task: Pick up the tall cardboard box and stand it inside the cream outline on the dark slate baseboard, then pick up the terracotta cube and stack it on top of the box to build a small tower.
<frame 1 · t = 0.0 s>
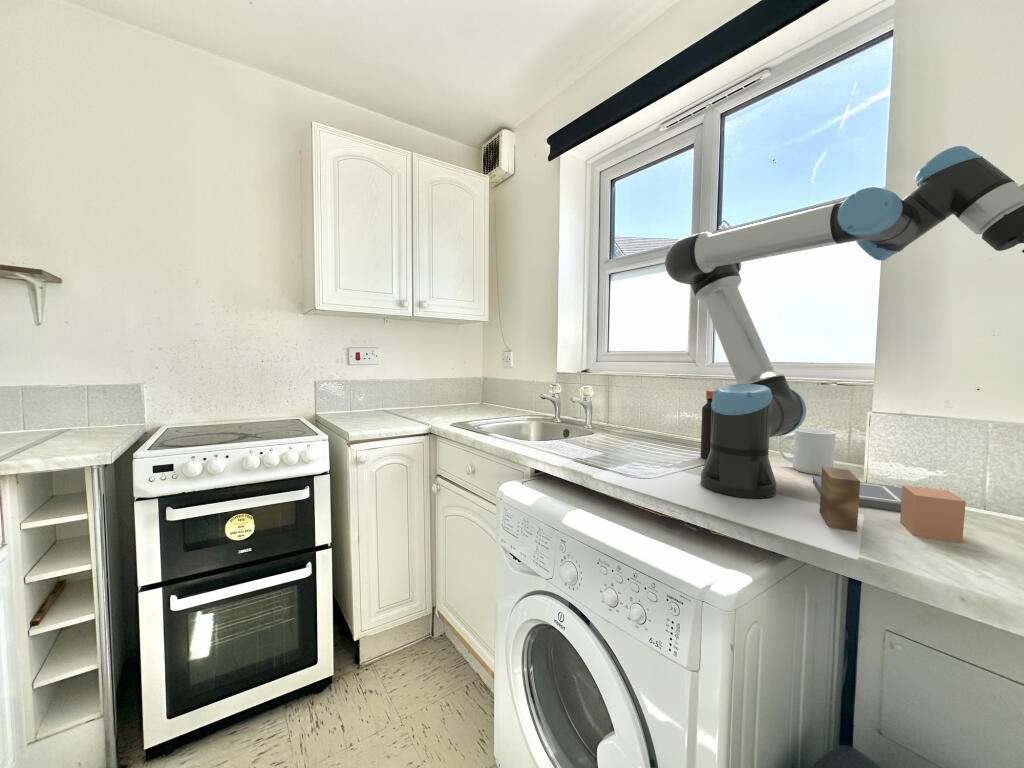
tall cardboard box: (837, 521, 75), on the worktop
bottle: (712, 458, 120), on the worktop
baseboard: (870, 497, 87), on the worktop
mug: (804, 470, 109), on the worktop
cap cube: (929, 532, 70), on the worktop
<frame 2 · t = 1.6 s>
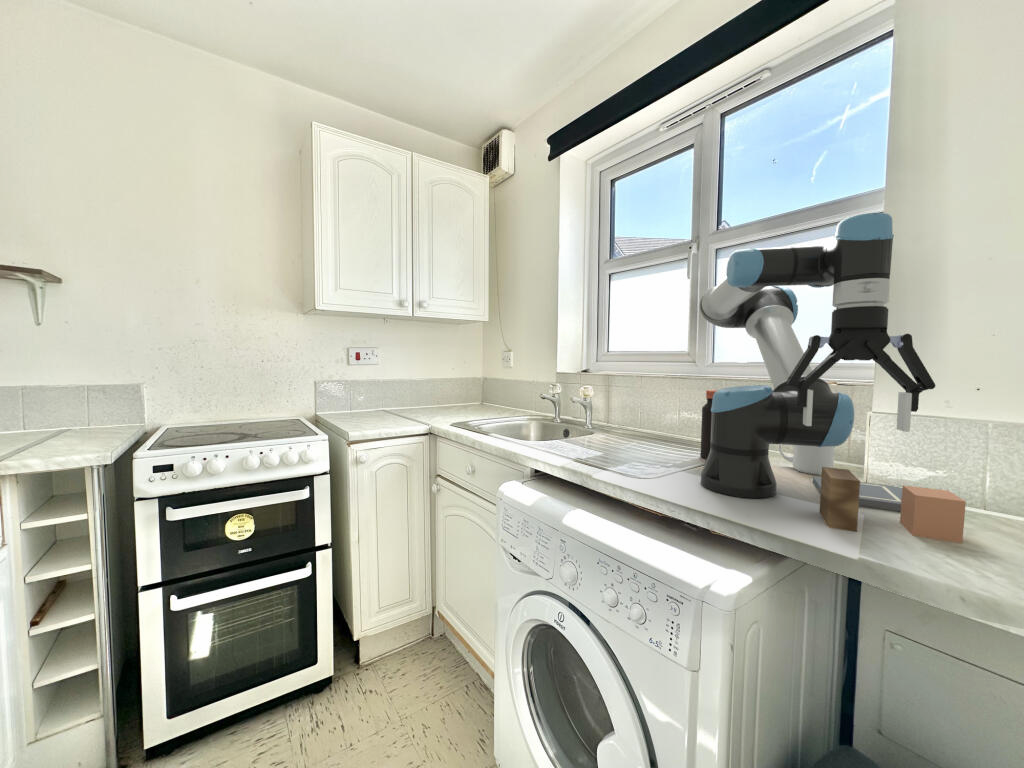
hand: (853, 427, 72), 17 cm above the worktop, tool pointing down, fingers open, 13 cm apart
nothing on the worktop moved.
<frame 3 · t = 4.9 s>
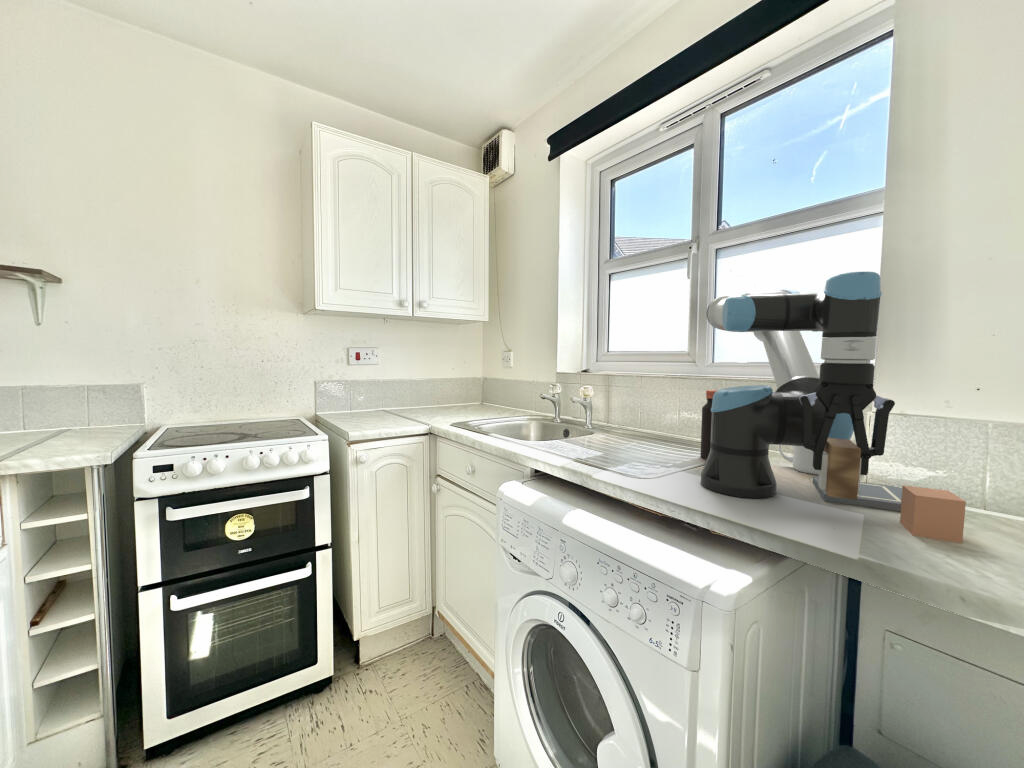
hand: (837, 489, 75), 6 cm above the worktop, tool pointing down, fingers closed on tall cardboard box, 4 cm apart
tall cardboard box: (837, 490, 75), point 5 cm above the worktop, touching gripper
everything else where it was.
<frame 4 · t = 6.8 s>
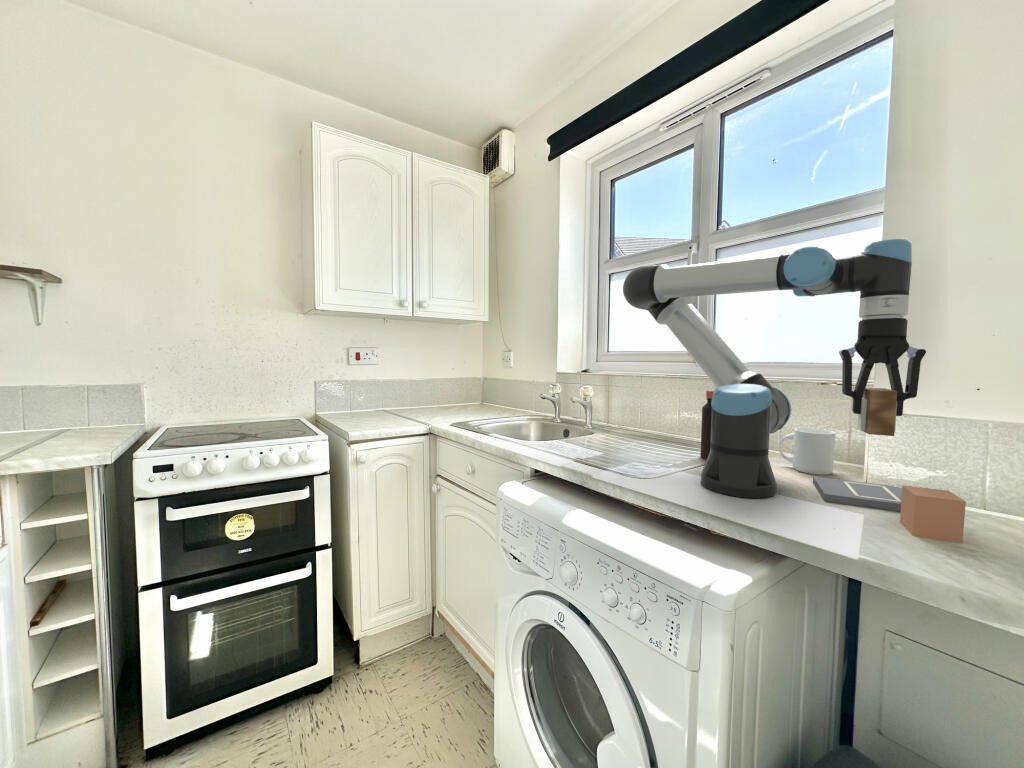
hand: (875, 430, 86), 15 cm above the worktop, tool pointing down, fingers closed on tall cardboard box, 4 cm apart
tall cardboard box: (875, 431, 86), point 14 cm above the worktop, touching gripper
everything else where it was.
when the fingers open (3 cm above the worktop, at t = 9.2 s): tall cardboard box stays where it is, resting on baseboard.
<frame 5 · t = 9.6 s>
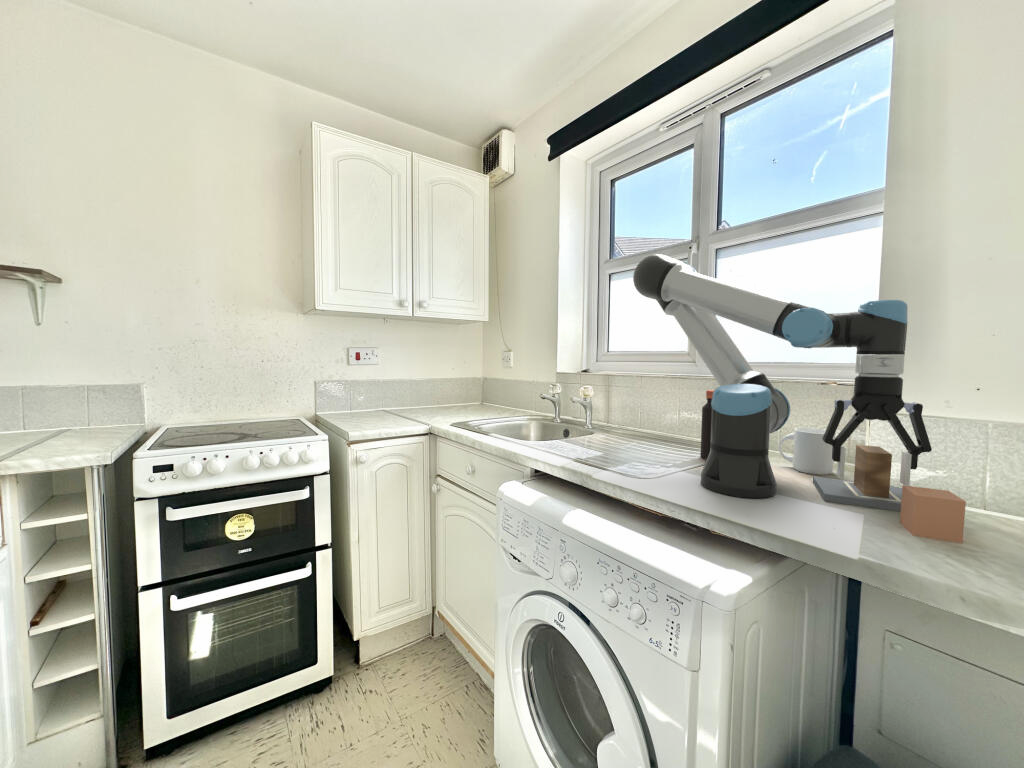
hand: (871, 480, 87), 4 cm above the worktop, tool pointing down, fingers open, 10 cm apart
tall cardboard box: (870, 490, 87), point 1 cm above the worktop, touching baseboard
everything else where it was.
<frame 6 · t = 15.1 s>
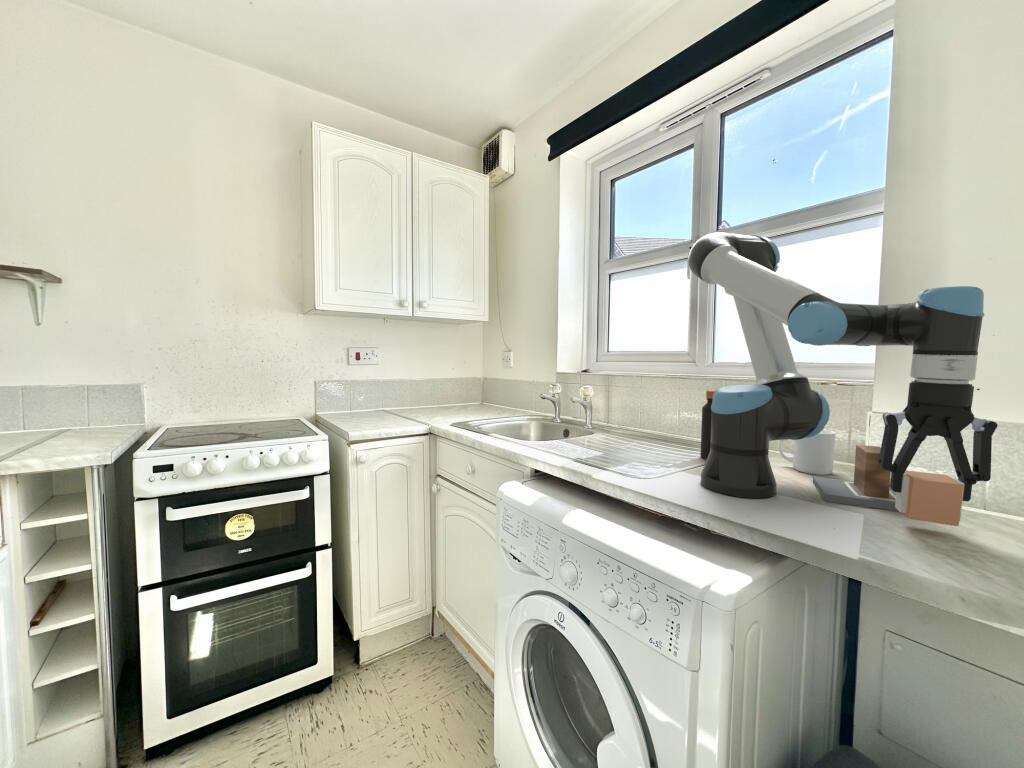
hand: (926, 513, 71), 3 cm above the worktop, tool pointing down, fingers closed on cap cube, 6 cm apart
cap cube: (925, 516, 71), point 3 cm above the worktop, touching gripper
everything else where it was.
when the fingers open (11 cm above the worktop, at t = 19.0 s): cap cube stays where it is, resting on tall cardboard box.
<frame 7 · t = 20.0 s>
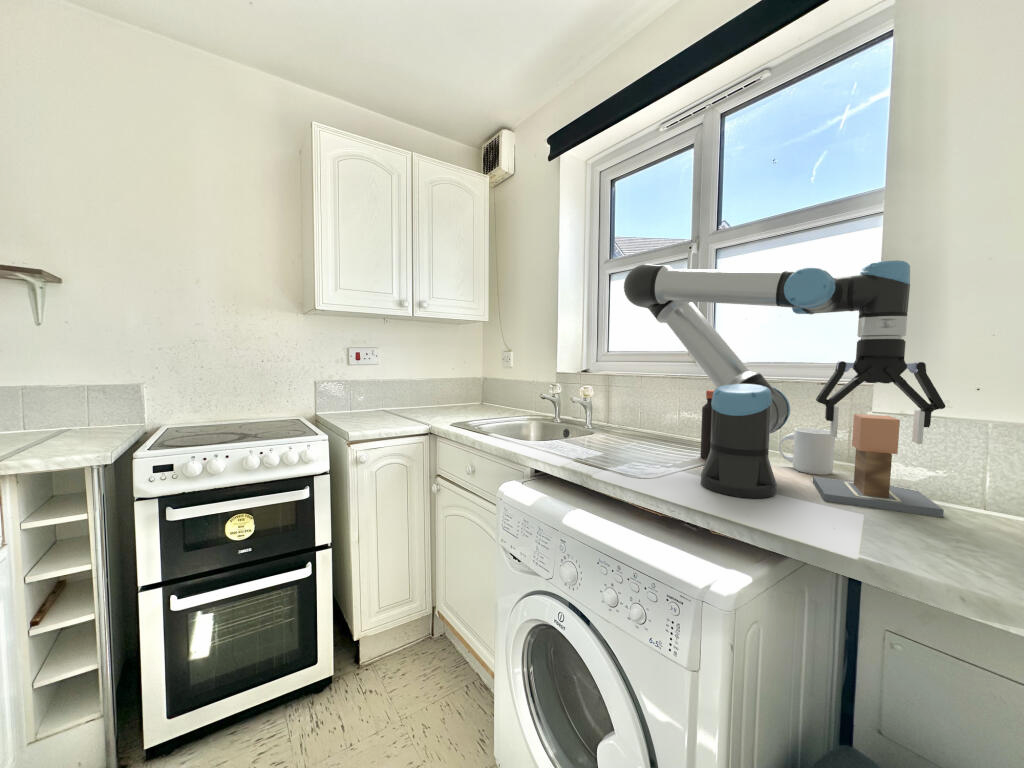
hand: (873, 439, 86), 13 cm above the worktop, tool pointing down, fingers open, 13 cm apart
tall cardboard box: (870, 490, 87), point 1 cm above the worktop, touching baseboard, cap cube
cap cube: (873, 449, 86), point 10 cm above the worktop, touching tall cardboard box
everything else where it was.
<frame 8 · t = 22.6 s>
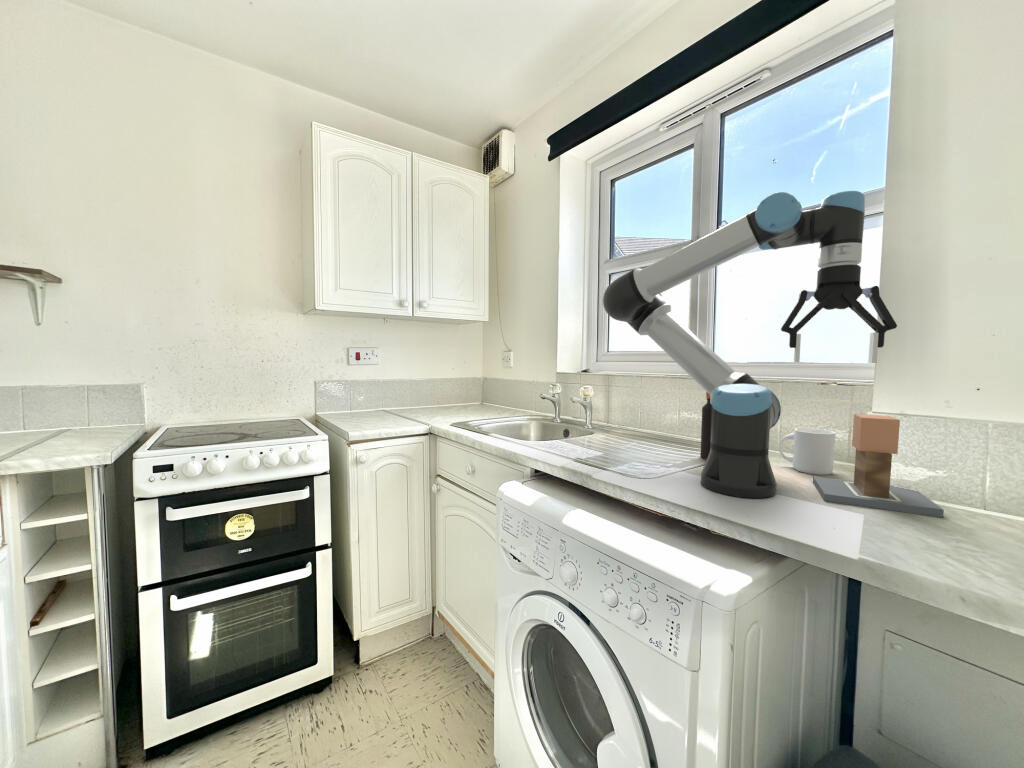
hand: (833, 362, 92), 29 cm above the worktop, tool pointing down, fingers open, 13 cm apart
nothing on the worktop moved.
at the end: tall cardboard box 0.2 cm off-centre on the baseboard, point 1.5 cm above the baseboard's base; tall cardboard box tilted 0°; cap cube 0.2 cm off-centre on the tall cardboard box, point 9.0 cm above the tall cardboard box's base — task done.
